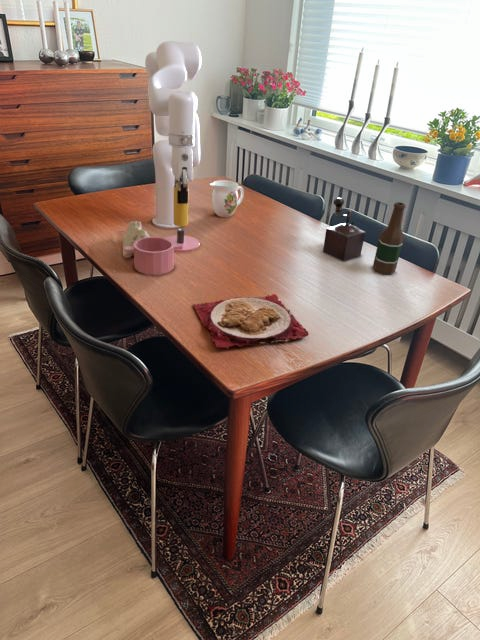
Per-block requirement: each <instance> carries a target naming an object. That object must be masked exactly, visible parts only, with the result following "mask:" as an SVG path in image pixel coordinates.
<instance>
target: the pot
mask: <svg viewBox="0 0 480 640" xmlns="http://www.w3.org/2000/svg"><path fill="white" fill-rule="evenodd" d="M165 238H166V237H161V236H150V237H145V238H141V239H138V240H136V241H135V242H134V244H133V246H126V247H125V252H134V255H133V266H134V269H135V270H136V271H138V272H139V273H142V274H145V275H151V276H153V275H163V274H167V273H169V272H171V271H172V270H174V267H175V251H174V250H177V249H182V245H181V244H173V242H172V241H170V240H169V239H165Z"/></svg>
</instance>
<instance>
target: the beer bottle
mask: <svg viewBox="0 0 480 640" xmlns="http://www.w3.org/2000/svg"><path fill="white" fill-rule="evenodd" d="M405 209H406V204H405V203H403V202H400V201H399V202H398V201H397V202H395V203H394V204H393V210H392V213H391V216H390V219H389V222H388V224H387V226H386V227H385V228H384V229H383V230H382V231H381V233H380V235H379V238H378V242H377V246H376V251H375V255H374V259H373V264H372V269H373V270H374V272H375V273H377V274H380V275H383V276H392V275H393V274H395V273H396V269H397V266H398V263H399V259H400V254H401V251H402V247H403V244H404V233H403V230H402V222H403V216H404V211H405Z"/></svg>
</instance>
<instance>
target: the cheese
mask: <svg viewBox="0 0 480 640" xmlns="http://www.w3.org/2000/svg"><path fill="white" fill-rule="evenodd" d="M142 227H143V226H142V223H141V221H138V220H135V221H134V220H133V221H129V222H128V224H127V227H126V232H125V236H124V238H123V243H122V256H123V257H124V258H125V259H131V257H132V256H134V252H125V247H126V246H133V244H134V242H135V241H136V240H138V239H141V238H145V237H151V236H150V234H149V233H148V232H147V231H146V230H145V229H142Z"/></svg>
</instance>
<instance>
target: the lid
mask: <svg viewBox="0 0 480 640" xmlns="http://www.w3.org/2000/svg"><path fill="white" fill-rule="evenodd" d="M164 238H165V239H169V240H170V241H172V242H173V244H181V245H182V249H177V250H174V252H191V251H194V250H196V249H198V248H199V247H200V244H201V243H200V241H199V240H198V239H197V238H195V237H193V236H190V235H185V229H184V228H181V227H178V228H177V229H176V234H175V235H174V234H173V235H169V236H166V237H164Z"/></svg>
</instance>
